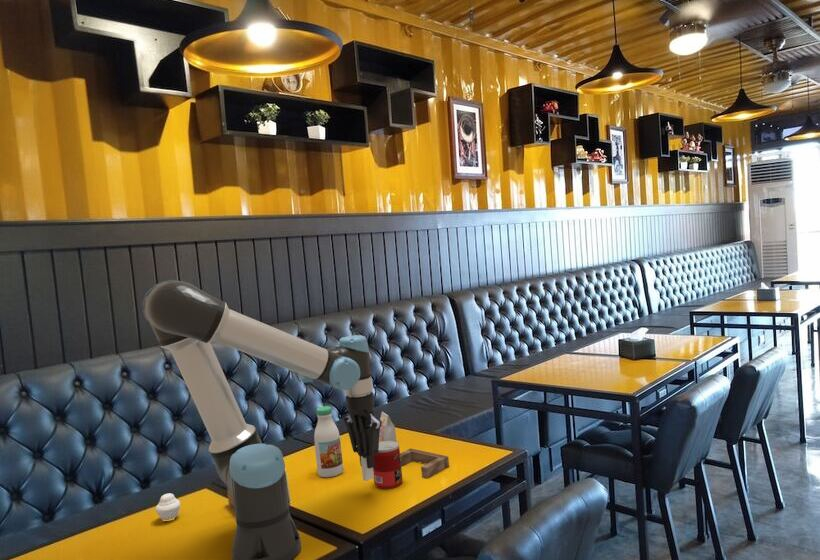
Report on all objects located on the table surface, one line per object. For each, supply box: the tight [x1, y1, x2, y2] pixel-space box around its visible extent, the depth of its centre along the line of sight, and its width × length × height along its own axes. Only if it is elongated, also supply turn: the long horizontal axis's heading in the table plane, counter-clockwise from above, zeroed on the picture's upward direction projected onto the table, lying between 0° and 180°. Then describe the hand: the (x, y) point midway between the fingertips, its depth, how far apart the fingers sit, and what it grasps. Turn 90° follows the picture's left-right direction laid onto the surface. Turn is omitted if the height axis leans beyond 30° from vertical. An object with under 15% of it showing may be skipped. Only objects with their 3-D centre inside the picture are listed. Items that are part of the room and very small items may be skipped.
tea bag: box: [379, 411, 397, 442], centre depth 200 cm, size 4×7×10 cm, turn 22°
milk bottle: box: [313, 405, 344, 478], centre depth 177 cm, size 8×8×20 cm
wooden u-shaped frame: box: [400, 448, 450, 479], centre depth 175 cm, size 10×15×3 cm, turn 48°
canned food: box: [373, 441, 403, 490], centre depth 165 cm, size 8×8×11 cm
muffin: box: [155, 492, 181, 521], centre depth 156 cm, size 6×6×7 cm
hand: (368, 478), depth 160 cm, fingers closed
